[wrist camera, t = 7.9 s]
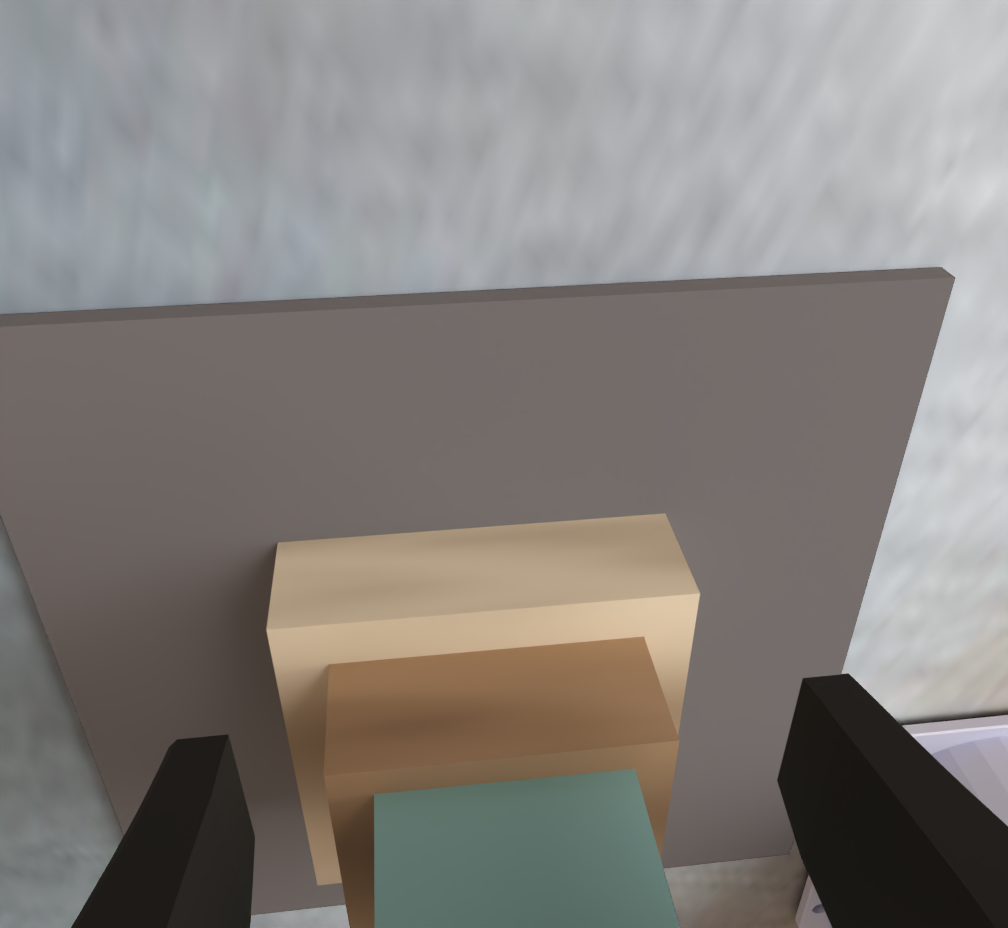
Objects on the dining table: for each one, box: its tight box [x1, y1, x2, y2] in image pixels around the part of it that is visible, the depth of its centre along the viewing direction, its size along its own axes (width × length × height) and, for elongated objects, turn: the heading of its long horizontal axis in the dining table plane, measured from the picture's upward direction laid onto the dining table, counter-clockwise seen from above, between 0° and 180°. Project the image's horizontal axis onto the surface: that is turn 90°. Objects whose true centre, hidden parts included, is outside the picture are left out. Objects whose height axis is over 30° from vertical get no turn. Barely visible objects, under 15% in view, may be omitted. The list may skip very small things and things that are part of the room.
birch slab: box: [266, 513, 700, 885], centre depth 20 cm, size 8×8×2 cm
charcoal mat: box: [0, 267, 955, 915], centre depth 22 cm, size 18×18×1 cm
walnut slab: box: [324, 637, 679, 928], centre depth 18 cm, size 6×6×2 cm
